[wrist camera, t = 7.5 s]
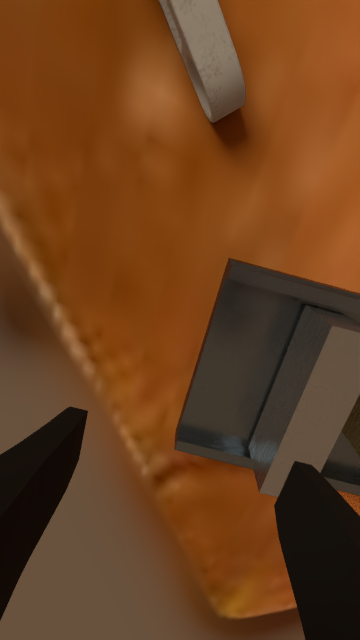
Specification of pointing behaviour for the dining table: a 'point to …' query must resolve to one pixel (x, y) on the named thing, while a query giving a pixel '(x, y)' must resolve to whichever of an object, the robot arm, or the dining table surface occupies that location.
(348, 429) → the brass block
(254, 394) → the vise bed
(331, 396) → the bar
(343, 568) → the robot arm
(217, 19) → the wrench
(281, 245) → the dining table surface
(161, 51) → the dining table surface
